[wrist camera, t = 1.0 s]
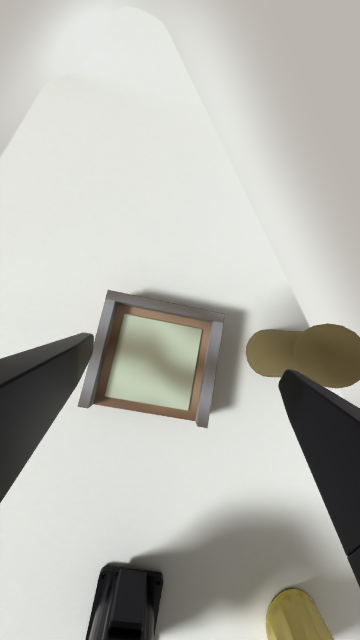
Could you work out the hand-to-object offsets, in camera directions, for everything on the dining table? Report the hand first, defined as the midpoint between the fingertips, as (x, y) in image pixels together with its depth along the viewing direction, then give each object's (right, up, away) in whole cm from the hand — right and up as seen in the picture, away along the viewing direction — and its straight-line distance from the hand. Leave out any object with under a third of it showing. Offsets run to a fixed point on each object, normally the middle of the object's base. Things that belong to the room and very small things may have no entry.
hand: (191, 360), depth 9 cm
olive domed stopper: (+11, -2, +17) cm, 20 cm away
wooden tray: (-3, -2, +15) cm, 16 cm away
